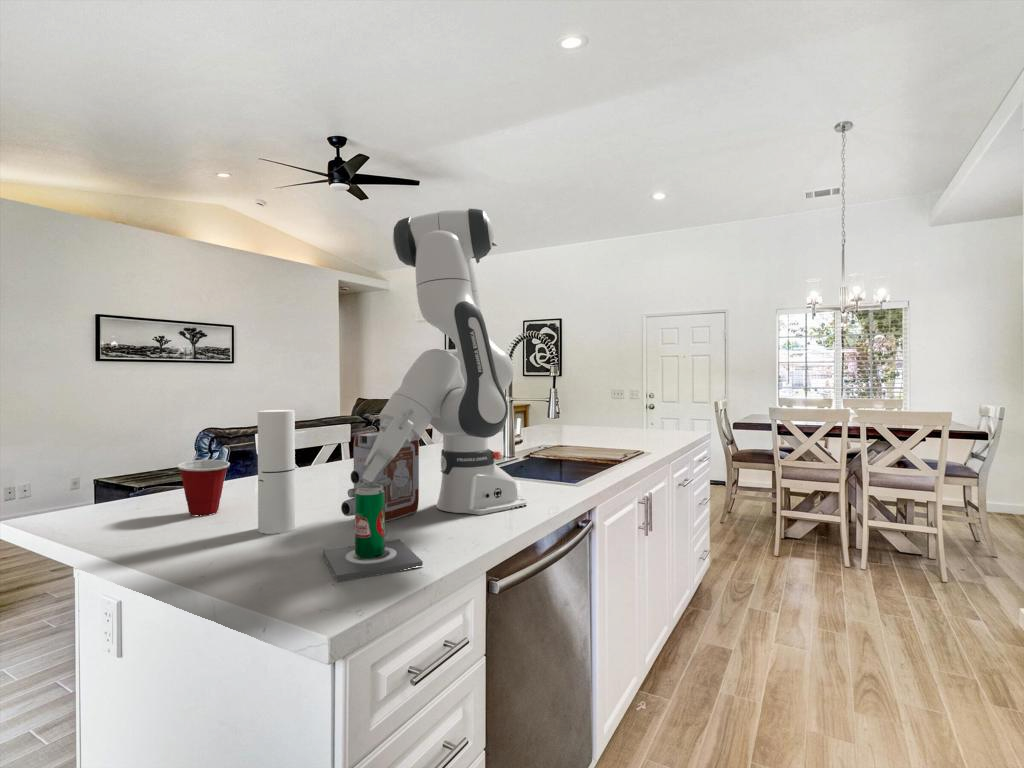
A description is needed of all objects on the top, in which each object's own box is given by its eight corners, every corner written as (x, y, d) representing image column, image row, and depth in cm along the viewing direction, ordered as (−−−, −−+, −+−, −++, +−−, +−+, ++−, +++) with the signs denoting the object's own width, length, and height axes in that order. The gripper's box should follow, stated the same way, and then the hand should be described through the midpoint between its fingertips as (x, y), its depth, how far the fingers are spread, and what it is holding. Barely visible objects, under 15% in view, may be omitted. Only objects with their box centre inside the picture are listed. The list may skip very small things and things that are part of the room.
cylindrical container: (281, 535, 110) (281, 412, 110) (250, 533, 111) (249, 411, 111) (302, 525, 117) (301, 410, 117) (272, 523, 118) (272, 409, 118)
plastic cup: (193, 522, 120) (192, 468, 119) (167, 515, 125) (167, 463, 125) (240, 511, 129) (239, 461, 129) (214, 505, 134) (214, 457, 134)
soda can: (349, 555, 94) (349, 486, 94) (373, 548, 98) (374, 482, 97) (365, 562, 91) (365, 490, 90) (390, 554, 94) (390, 486, 94)
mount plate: (399, 544, 104) (399, 538, 104) (422, 567, 92) (422, 560, 92) (323, 555, 97) (323, 548, 97) (336, 581, 85) (336, 574, 85)
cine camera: (329, 526, 117) (329, 433, 116) (395, 508, 133) (395, 426, 132) (358, 533, 111) (358, 436, 111) (423, 513, 128) (423, 428, 127)
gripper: (429, 415, 93) (387, 486, 87) (408, 439, 111) (372, 499, 105) (398, 396, 92) (353, 466, 86) (382, 423, 110) (343, 482, 105)
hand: (363, 484), depth 96 cm, fingers open, 8 cm apart
